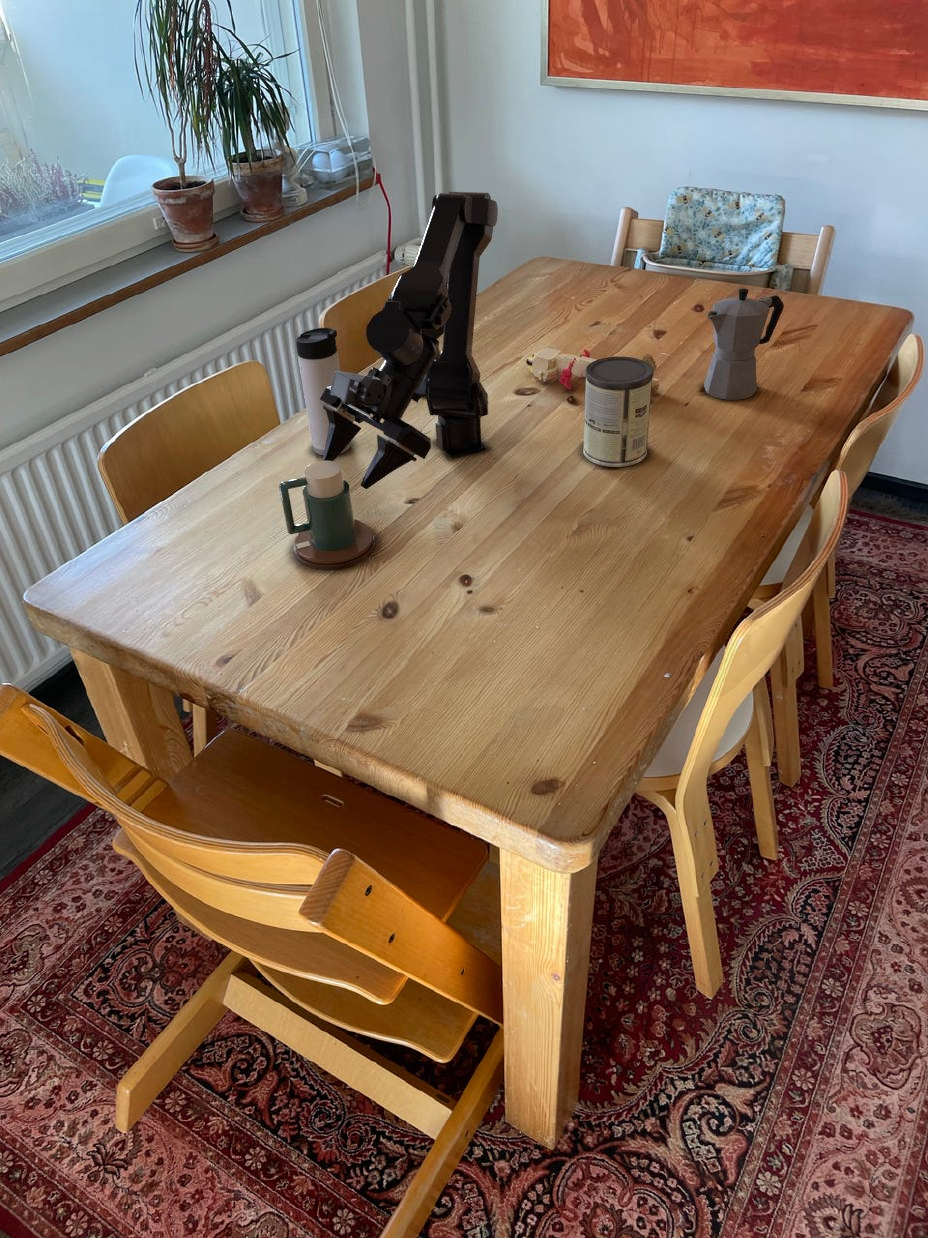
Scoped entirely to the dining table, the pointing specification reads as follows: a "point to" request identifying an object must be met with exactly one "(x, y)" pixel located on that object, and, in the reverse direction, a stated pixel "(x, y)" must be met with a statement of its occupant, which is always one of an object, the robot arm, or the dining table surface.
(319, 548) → the green cylinder with handle
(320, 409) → the travel mug
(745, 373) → the coffeepot
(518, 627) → the dining table surface
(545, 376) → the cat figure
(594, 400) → the coffee can
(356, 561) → the turntable
